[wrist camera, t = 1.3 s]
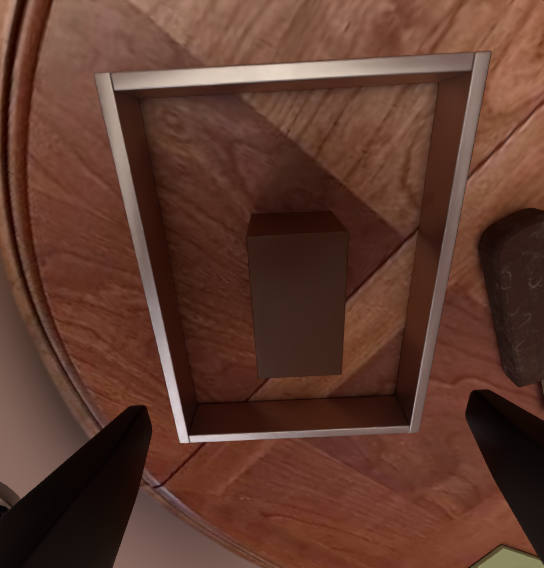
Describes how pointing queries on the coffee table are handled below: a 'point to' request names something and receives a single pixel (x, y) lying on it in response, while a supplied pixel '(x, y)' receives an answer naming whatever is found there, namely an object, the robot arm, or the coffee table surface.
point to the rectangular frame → (428, 257)
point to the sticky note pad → (508, 559)
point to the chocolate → (298, 292)
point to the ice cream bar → (517, 292)
